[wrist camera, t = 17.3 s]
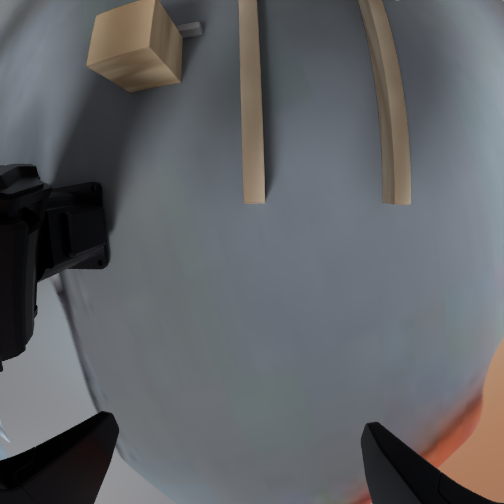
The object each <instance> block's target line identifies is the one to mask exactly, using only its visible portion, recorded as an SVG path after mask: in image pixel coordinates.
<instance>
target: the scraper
mask: <svg viewBox="0 0 504 504" xmlns="http://www.w3.org/2000/svg"><path fill="white" fill-rule="evenodd" d="M200 35H203V28H202V26H201V24H200V21H199V22H193V23H187V24H182V25H177V26H175V25H174V23H173V22H172V20H171V18H170V17H169V15H168V14H167V12H166V11H165V9H164V7H163V6H162V4H161V3H160V1H159V0H139V1H136V2H132V3H129V4H126V5H123V6H120V7H118V8H115V9H112V10H109V11H107V12H104V13H102V14H99V15H97V16H96V19H95V23H94V28H93V32H92V37H91V42H90V47H89V53H88V58H87V65H86V66H87V67H88V68H90V69H92V70H93V71H95V72H97V73H99V74H100V75H102V76H104V77H105V78H107V79H108V80H110V81H112V82H113V83H115V84H117V85H118V86H120V87H121V88H123V89H125V90H126V91H128V92H129V93H132V92H136V91H140V90H145V89H150V88H154V87H159V86H165V85H170V84H176V83H181V69H182V46H183V38H187V37H193V36H200Z"/></svg>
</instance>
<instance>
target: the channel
mask: <svg viewBox="0 0 504 504" xmlns="http://www.w3.org/2000/svg"><path fill="white" fill-rule="evenodd" d="M358 3H359V7H360V11H361V14H362V19H363V23H364V27H365V31H366V36H367V41H368V46H369V51H370V56H371V62H372V68H373V74H374V81H375V88H376V96H377V104H378V113H379V124H380V136H381V152H382V180H383V203H390V204H403V205H411V171H410V150H409V136H408V125H407V115H406V107H405V99H404V92H403V86H402V80H401V74H400V69H399V64H398V59H397V54H396V49H395V45H394V41H393V37H392V33H391V29H390V25H389V22H388V18H387V15H386V11H385V8H384V5H383V2H382V0H358ZM239 37H240V81H241V120H242V155H243V188H244V204H251V203H265V174H264V143H263V115H262V90H261V68H260V47H259V27H258V9H257V0H239Z"/></svg>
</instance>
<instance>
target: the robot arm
mask: <svg viewBox="0 0 504 504" xmlns="http://www.w3.org/2000/svg"><path fill="white" fill-rule="evenodd" d="M94 186H96V191H94ZM100 260H102V261H103V264H101V262H100ZM107 265H108V257H107V249H106V231H105V220H104V209H103V205H102V187H101V184H100V183H99V182H90V183H84V184H78V185H73V186H67V187H62V188H57V189H52V186H51V185H48V184H46V183H44V182H42V181H41V180H40V177H39V175H38V172H37V168H36V166H34V165H32V164H10V165H7V166H4V165H0V372H2V371H3V366H2V361H5V360H8V359H11V358H13V357H16V356H18V355H20V354H21V353H22V352H24V351H25V349H26V346H25V345H26V344H27V343H28V341H29V340H30V338H31V337H32V335H33V329H34V318H35V317H36V315H37V308H38V307H37V305H36V296H37V294H36V293H37V283H38V282H40V281H42V280H44V279H46V278H48V277H50V276H53V275H55V274H57V273H59V272H61V271H63V270H66V269H104V268H105V267H107ZM118 434H119V427H118V424H117V422H116V420H115V418H114V415H113V414H112V413H109V412H105V411H101V412H99V413H98V414H96V415H94V416H92V417H91V418H89V419H87V420H85V421H84V422H82V423H80V424H78V425H76V426H74V427H72V428H70V429H69V430H67V431H65V432H63V433H61V434H59V435H57V436H55V437H53V438H51V439H50V440H47V441H46V442H44V443H42V444H40V445H38V446H36V447H33V448H31V449H29V450H27V451H25V452H23V453H20V454H18V455H15V456H13V457H10V458H7V459H4V460H1V461H0V504H94V502H95V500H96V497H97V495H98V492H99V489H100V487H101V485H102V482H103V480H104V477H105V475H106V472H107V470H108V467H109V465H110V462H111V459H112V455H113V451H114V448H115V445H116V441H117V438H118ZM361 448H362V454H363V461H364V469H365V476H366V481H367V484H368V488H369V492H370V496H371V499H372V503H373V504H504V503H498V502H493V501H491V500H488V499H486V498H484V497H482V496H480V495H478V494H476V493H474V492H472V491H470V490H468V489H467V488H465V487H463V486H461V485H460V484H458V483H456V482H455V481H453V480H452V479H450V478H449V477H448V476H446V475H445V474H444V473H442V472H440V471H439V470H438V469H437V468H435V467H434V466H433V465H432V464H430V463H429V462H428V461H426V460H425V459H424V458H422V457H421V456H420V455H419V454H417V453H416V452H415V451H413V450H412V449H411V448H410V447H408V446H407V445H406V444H405V443H403V442H402V441H401V440H400V439H398V438H397V437H396V436H395V435H393V434H392V433H391V432H390V431H389V430H387V429H386V428H385V427H384V426H382V425H381V424H380V423H379V422H371V423H367V424H366V425H365V428H364V431H363V434H362V437H361Z"/></svg>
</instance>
